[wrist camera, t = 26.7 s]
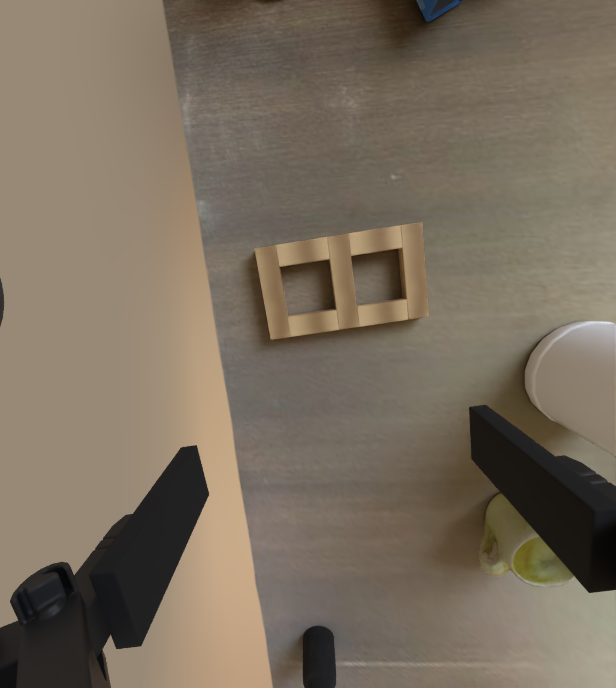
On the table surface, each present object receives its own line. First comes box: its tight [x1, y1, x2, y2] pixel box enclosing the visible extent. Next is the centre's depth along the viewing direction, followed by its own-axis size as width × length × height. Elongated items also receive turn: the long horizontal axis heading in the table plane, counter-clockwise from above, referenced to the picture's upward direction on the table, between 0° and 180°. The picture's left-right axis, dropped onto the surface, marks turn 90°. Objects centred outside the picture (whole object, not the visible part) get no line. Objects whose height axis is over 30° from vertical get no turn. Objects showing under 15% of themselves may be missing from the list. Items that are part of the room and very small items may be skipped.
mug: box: [479, 493, 576, 587], centre depth 43 cm, size 12×10×10 cm
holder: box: [255, 222, 429, 340], centre depth 39 cm, size 20×11×2 cm, turn 99°
